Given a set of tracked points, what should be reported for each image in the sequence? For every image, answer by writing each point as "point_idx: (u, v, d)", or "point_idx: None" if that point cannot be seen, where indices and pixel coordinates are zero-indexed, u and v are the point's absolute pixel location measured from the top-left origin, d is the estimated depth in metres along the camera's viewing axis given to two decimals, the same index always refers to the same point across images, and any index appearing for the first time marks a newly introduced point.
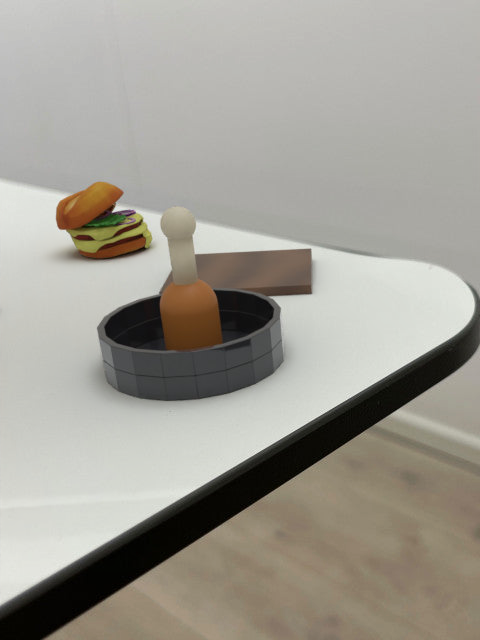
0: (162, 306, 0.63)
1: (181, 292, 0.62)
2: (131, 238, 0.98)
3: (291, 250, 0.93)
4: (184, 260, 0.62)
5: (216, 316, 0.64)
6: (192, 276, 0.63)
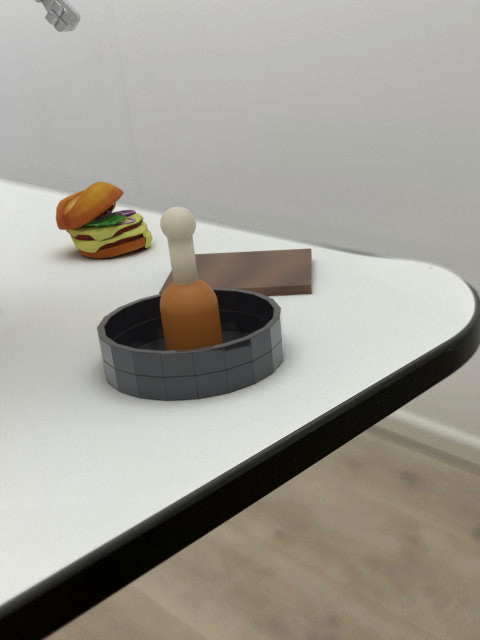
0: (162, 306, 0.63)
1: (181, 292, 0.62)
2: (131, 238, 0.98)
3: (291, 250, 0.93)
4: (184, 260, 0.62)
5: (216, 316, 0.64)
6: (192, 276, 0.63)
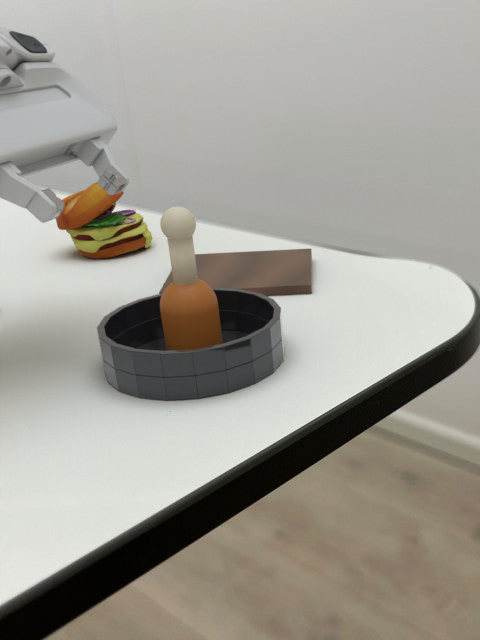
0: (162, 306, 0.63)
1: (181, 292, 0.62)
2: (131, 238, 0.98)
3: (291, 250, 0.93)
4: (184, 260, 0.62)
5: (216, 316, 0.64)
6: (192, 276, 0.63)
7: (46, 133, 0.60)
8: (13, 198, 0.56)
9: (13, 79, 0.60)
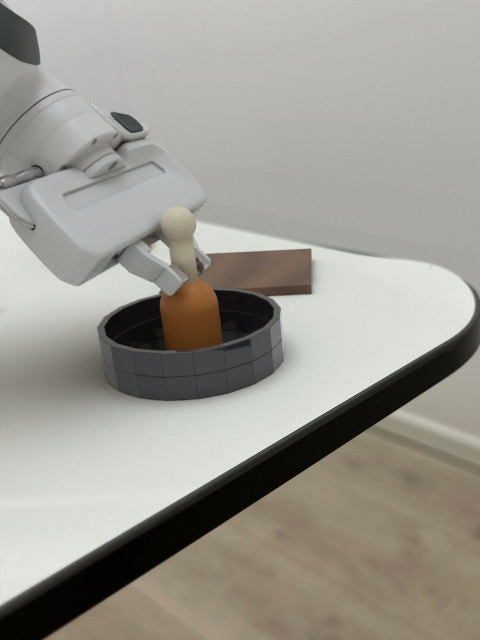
0: (162, 306, 0.63)
1: (181, 292, 0.62)
2: None
3: (291, 250, 0.93)
4: (184, 260, 0.62)
5: (216, 316, 0.64)
6: (192, 276, 0.63)
7: (152, 215, 0.62)
8: (143, 274, 0.60)
9: (119, 162, 0.62)
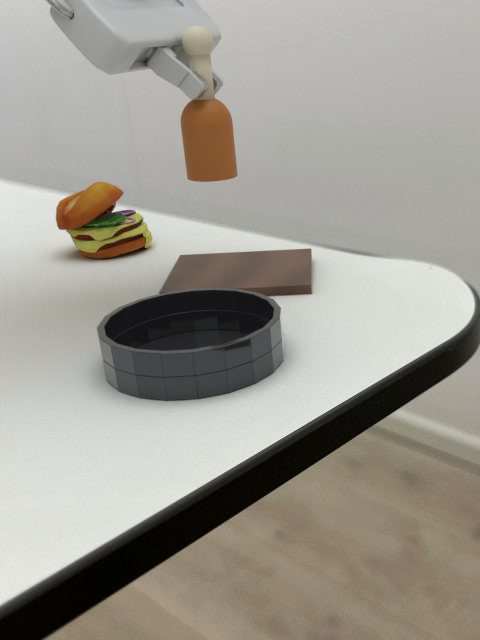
0: (182, 120, 0.71)
1: (200, 105, 0.70)
2: (131, 238, 0.98)
3: (291, 250, 0.93)
4: (203, 75, 0.69)
5: (230, 132, 0.72)
6: (210, 92, 0.70)
7: (173, 30, 0.69)
8: (169, 77, 0.68)
9: None
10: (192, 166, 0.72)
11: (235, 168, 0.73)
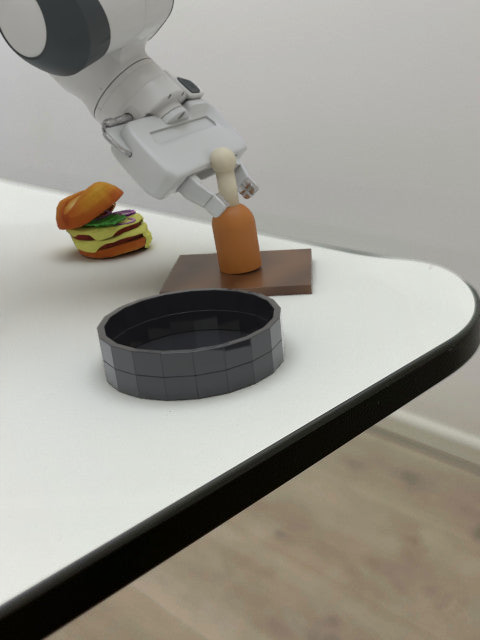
0: (213, 224, 0.84)
1: (228, 212, 0.83)
2: (131, 238, 0.98)
3: (291, 250, 0.93)
4: (229, 187, 0.82)
5: (254, 230, 0.85)
6: (235, 200, 0.83)
7: (210, 153, 0.82)
8: (196, 200, 0.79)
9: (185, 113, 0.82)
10: (224, 262, 0.85)
11: (260, 258, 0.87)
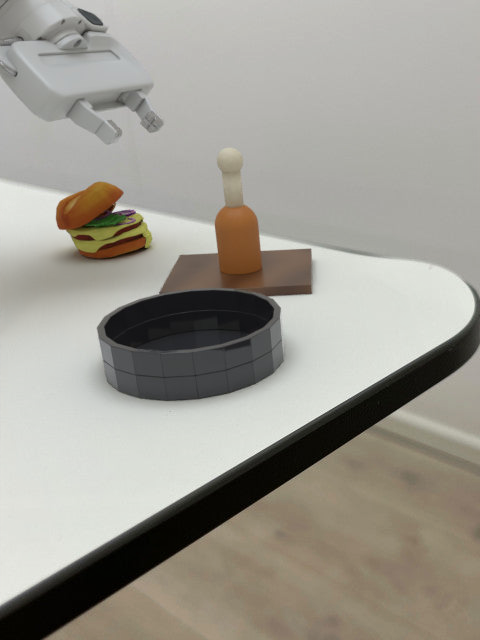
0: (217, 224, 0.84)
1: (232, 212, 0.83)
2: (131, 238, 0.98)
3: (291, 250, 0.93)
4: (234, 188, 0.83)
5: (257, 232, 0.85)
6: (240, 201, 0.84)
7: (107, 82, 0.82)
8: (86, 125, 0.78)
9: (82, 42, 0.82)
10: (225, 262, 0.85)
11: (261, 261, 0.87)
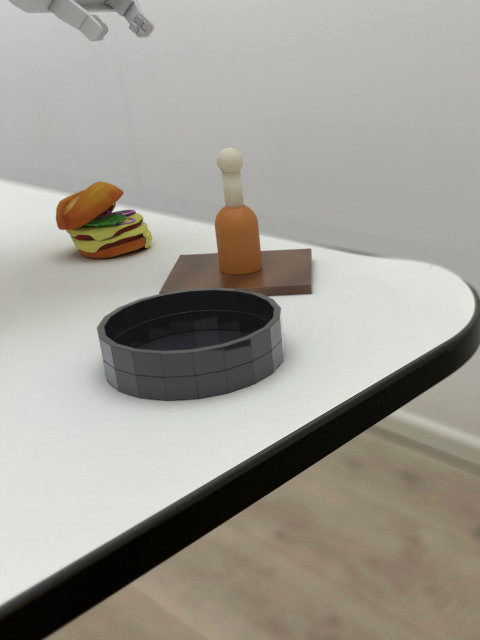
0: (217, 224, 0.84)
1: (232, 212, 0.83)
2: (131, 238, 0.98)
3: (291, 250, 0.93)
4: (234, 188, 0.83)
5: (257, 232, 0.85)
6: (240, 201, 0.84)
7: None
8: (69, 20, 0.73)
9: None
10: (225, 262, 0.85)
11: (261, 261, 0.87)
